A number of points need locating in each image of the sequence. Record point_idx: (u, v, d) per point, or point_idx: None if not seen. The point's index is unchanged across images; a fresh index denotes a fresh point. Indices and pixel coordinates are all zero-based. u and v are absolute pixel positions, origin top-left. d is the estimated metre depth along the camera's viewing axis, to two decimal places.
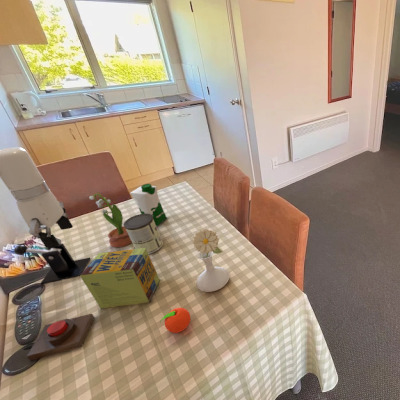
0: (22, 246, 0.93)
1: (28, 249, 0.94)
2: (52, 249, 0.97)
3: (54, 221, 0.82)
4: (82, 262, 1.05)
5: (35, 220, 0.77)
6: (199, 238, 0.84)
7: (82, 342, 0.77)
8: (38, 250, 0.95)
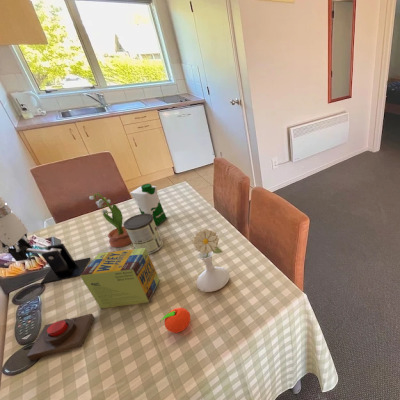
0: (22, 246, 0.93)
1: (28, 249, 0.94)
2: (52, 249, 0.97)
3: (16, 240, 0.89)
4: (82, 262, 1.05)
5: (0, 242, 0.85)
6: (199, 238, 0.84)
7: (82, 342, 0.77)
8: (38, 250, 0.95)
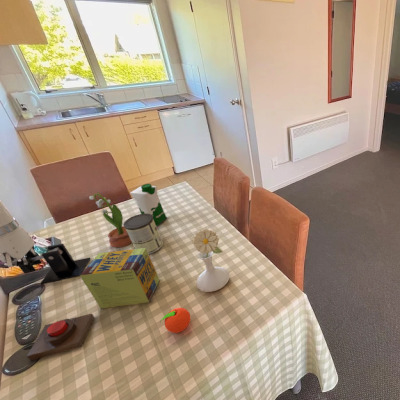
0: None
1: (32, 258, 0.96)
2: (50, 250, 0.97)
3: (24, 253, 0.92)
4: (82, 262, 1.05)
5: (8, 255, 0.88)
6: (199, 238, 0.84)
7: (82, 342, 0.77)
8: (40, 256, 0.96)
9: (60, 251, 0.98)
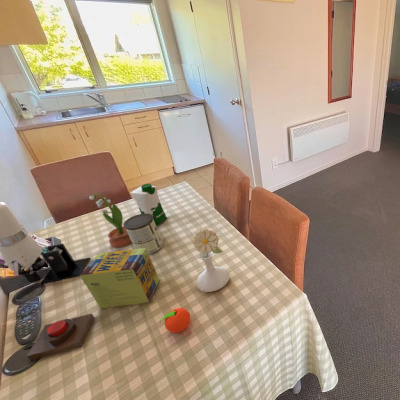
0: (32, 264, 0.97)
1: (38, 263, 0.97)
2: (50, 251, 0.97)
3: (32, 261, 0.94)
4: (82, 262, 1.05)
5: (16, 263, 0.90)
6: (199, 238, 0.84)
7: (82, 342, 0.77)
8: (44, 259, 0.97)
9: (59, 250, 0.98)
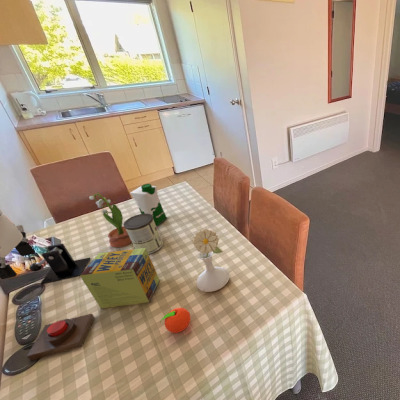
0: (32, 264, 0.97)
1: (38, 263, 0.97)
2: (50, 251, 0.97)
3: (10, 249, 0.72)
4: (82, 262, 1.05)
5: None
6: (199, 238, 0.84)
7: (82, 342, 0.77)
8: (44, 259, 0.97)
9: (59, 250, 0.98)
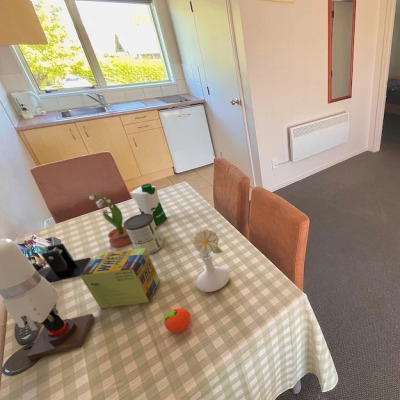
0: (32, 264, 0.97)
1: (38, 263, 0.97)
2: (50, 251, 0.97)
3: (47, 312, 0.72)
4: (82, 262, 1.05)
5: (30, 318, 0.68)
6: (199, 238, 0.84)
7: (82, 342, 0.77)
8: (44, 259, 0.97)
9: (59, 250, 0.98)
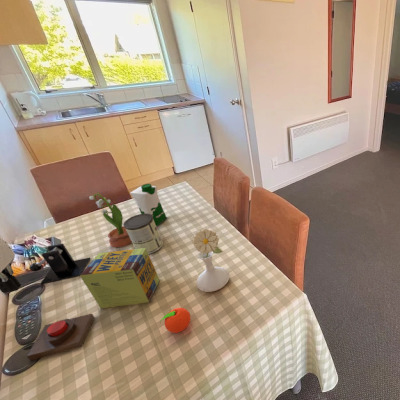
0: (32, 264, 0.97)
1: (38, 263, 0.97)
2: (50, 251, 0.97)
3: None
4: (82, 262, 1.05)
5: None
6: (199, 238, 0.84)
7: (82, 342, 0.77)
8: (44, 259, 0.97)
9: (59, 250, 0.98)
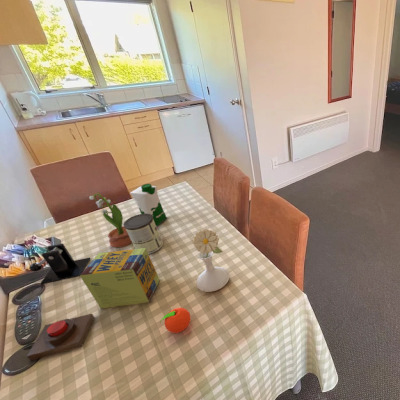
0: (32, 264, 0.97)
1: (38, 263, 0.97)
2: (50, 251, 0.97)
3: None
4: (82, 262, 1.05)
5: None
6: (199, 238, 0.84)
7: (82, 342, 0.77)
8: (44, 259, 0.97)
9: (59, 250, 0.98)
